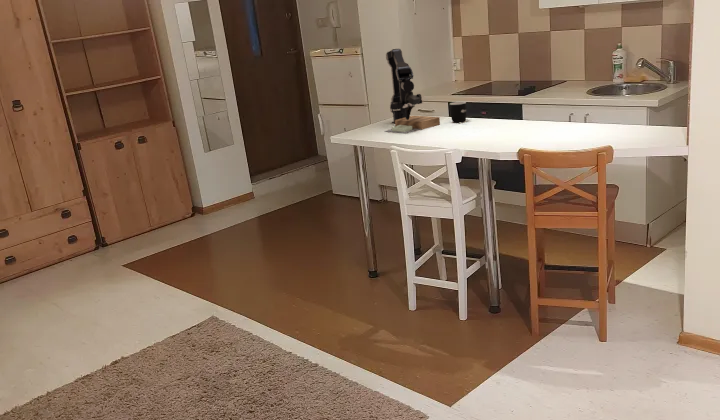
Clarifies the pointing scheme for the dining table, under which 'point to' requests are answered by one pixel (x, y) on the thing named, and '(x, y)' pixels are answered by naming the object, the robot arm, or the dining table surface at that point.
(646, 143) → the dining table surface
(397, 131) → the mat
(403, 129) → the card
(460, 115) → the mug
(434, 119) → the brown wooden flat block
